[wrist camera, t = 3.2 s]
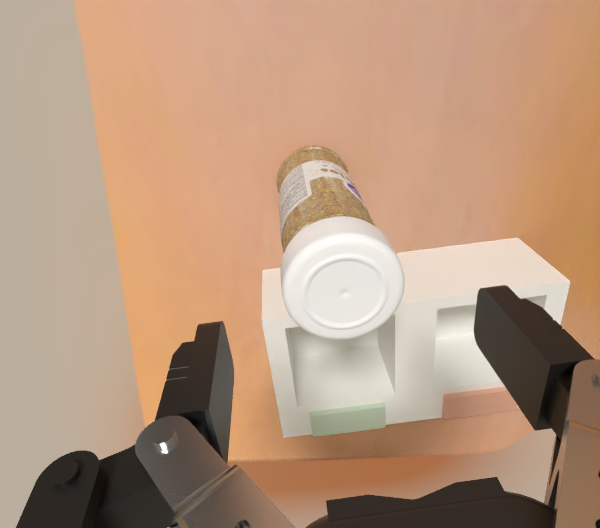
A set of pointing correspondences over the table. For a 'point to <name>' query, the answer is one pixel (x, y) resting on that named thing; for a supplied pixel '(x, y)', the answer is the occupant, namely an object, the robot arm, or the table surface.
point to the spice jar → (332, 250)
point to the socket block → (405, 345)
